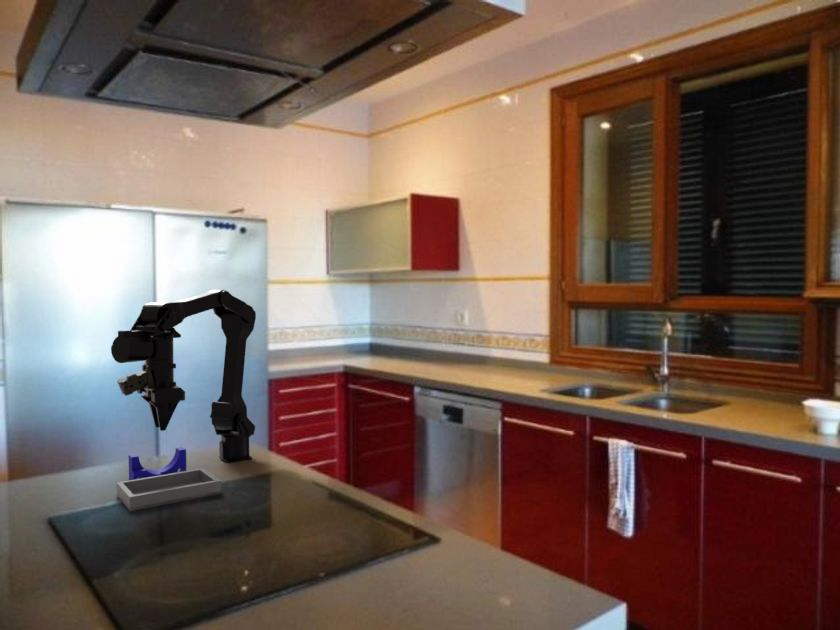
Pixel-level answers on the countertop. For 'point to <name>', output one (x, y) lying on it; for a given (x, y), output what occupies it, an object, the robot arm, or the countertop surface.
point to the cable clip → (139, 472)
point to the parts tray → (167, 489)
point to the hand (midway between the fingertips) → (160, 428)
